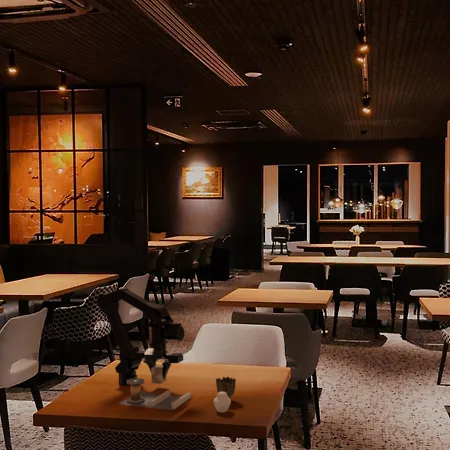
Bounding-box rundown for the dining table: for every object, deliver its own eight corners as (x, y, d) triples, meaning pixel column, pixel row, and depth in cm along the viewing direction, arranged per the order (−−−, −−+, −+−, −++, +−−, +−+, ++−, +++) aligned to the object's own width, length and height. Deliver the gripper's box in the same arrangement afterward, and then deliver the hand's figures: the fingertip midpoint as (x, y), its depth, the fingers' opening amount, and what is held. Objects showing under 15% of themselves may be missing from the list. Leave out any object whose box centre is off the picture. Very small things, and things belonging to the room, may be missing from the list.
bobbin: (123, 402, 232) (123, 381, 232) (132, 397, 238) (132, 377, 238) (139, 404, 230) (139, 383, 230) (147, 399, 236) (147, 378, 236)
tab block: (151, 383, 249) (151, 367, 249) (157, 379, 254) (157, 364, 254) (160, 383, 248) (160, 368, 248) (166, 380, 252) (166, 365, 252)
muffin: (233, 412, 224) (233, 392, 223) (216, 414, 222) (216, 394, 222) (228, 407, 230) (227, 388, 229) (211, 409, 228) (211, 389, 228)
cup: (221, 404, 233) (221, 382, 233) (212, 399, 240) (212, 378, 239) (239, 401, 237) (239, 380, 236) (230, 396, 243) (230, 375, 243)
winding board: (118, 407, 231) (117, 398, 231) (139, 394, 246) (139, 387, 246) (173, 413, 223) (173, 404, 223) (191, 400, 238) (191, 392, 238)
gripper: (127, 341, 246) (127, 381, 246) (171, 344, 240) (172, 386, 240) (140, 335, 256) (141, 374, 257) (183, 338, 250) (184, 378, 250)
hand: (159, 378), depth 251 cm, fingers closed on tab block, 4 cm apart
